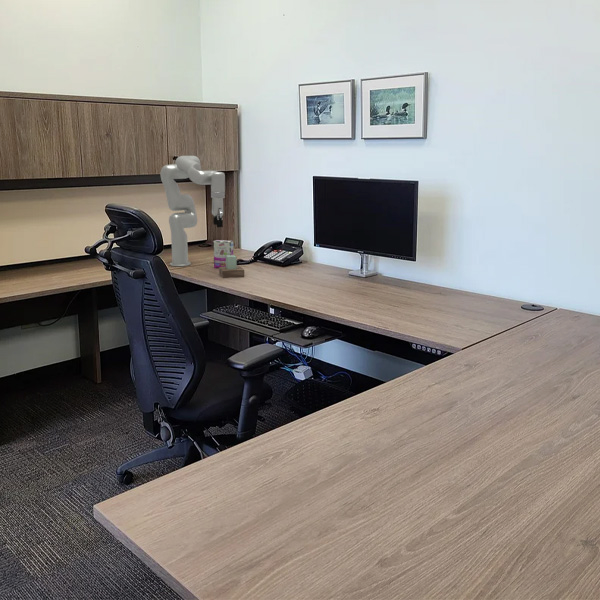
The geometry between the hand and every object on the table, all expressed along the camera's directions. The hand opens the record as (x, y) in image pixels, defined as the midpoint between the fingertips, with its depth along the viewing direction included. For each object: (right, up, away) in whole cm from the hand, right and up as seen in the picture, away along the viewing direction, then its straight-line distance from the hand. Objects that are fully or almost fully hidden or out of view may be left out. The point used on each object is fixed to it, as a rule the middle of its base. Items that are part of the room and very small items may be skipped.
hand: (218, 225), depth 348 cm
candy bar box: (0, -22, +25) cm, 34 cm away
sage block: (+7, -24, +3) cm, 25 cm away
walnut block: (+7, -27, +4) cm, 29 cm away
